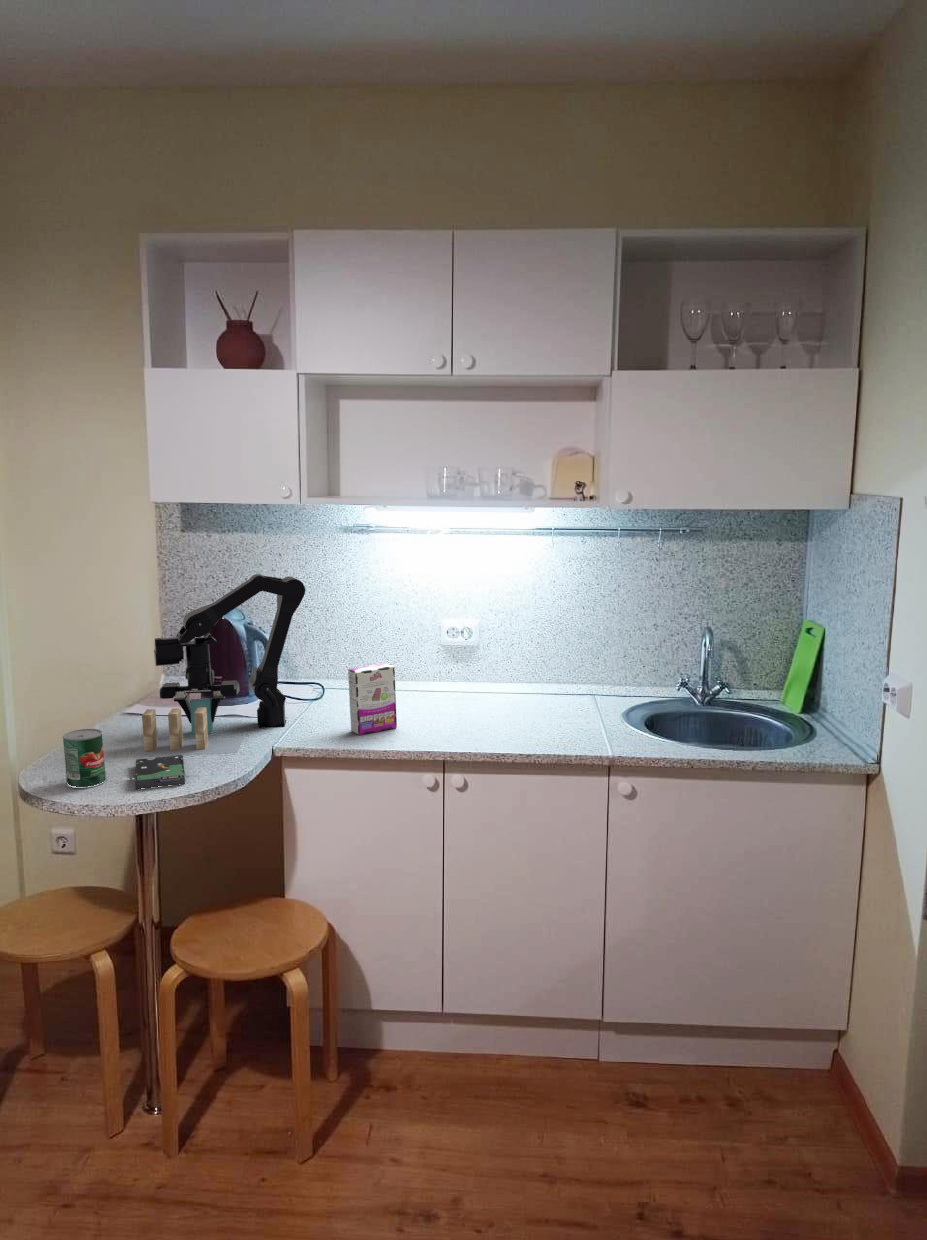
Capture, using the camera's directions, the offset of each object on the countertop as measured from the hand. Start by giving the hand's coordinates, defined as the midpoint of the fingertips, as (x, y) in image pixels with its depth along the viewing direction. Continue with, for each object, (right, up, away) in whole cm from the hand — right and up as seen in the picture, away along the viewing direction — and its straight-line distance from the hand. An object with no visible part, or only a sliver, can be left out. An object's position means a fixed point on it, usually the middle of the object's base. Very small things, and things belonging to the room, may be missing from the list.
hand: (202, 722), depth 236 cm
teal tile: (0, -3, +1) cm, 3 cm away
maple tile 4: (-9, -5, -12) cm, 16 cm away
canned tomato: (-16, -10, -34) cm, 38 cm away
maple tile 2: (+3, -5, -11) cm, 12 cm away
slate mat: (0, -5, -11) cm, 12 cm away
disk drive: (-1, -9, -30) cm, 31 cm away
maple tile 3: (-3, -5, -12) cm, 13 cm away
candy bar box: (+43, -2, +3) cm, 43 cm away
